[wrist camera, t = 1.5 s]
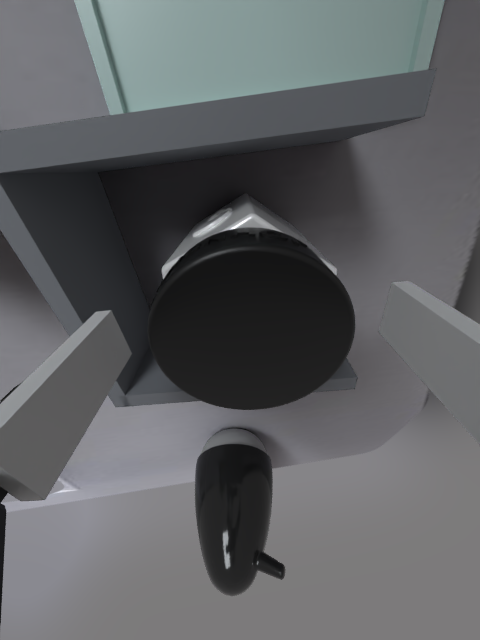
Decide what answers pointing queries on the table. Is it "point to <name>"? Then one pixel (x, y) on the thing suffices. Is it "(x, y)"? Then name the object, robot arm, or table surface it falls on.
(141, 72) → the tray
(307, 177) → the table surface
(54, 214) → the bay
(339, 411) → the table surface
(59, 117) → the table surface
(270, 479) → the pump dispenser
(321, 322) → the jar
